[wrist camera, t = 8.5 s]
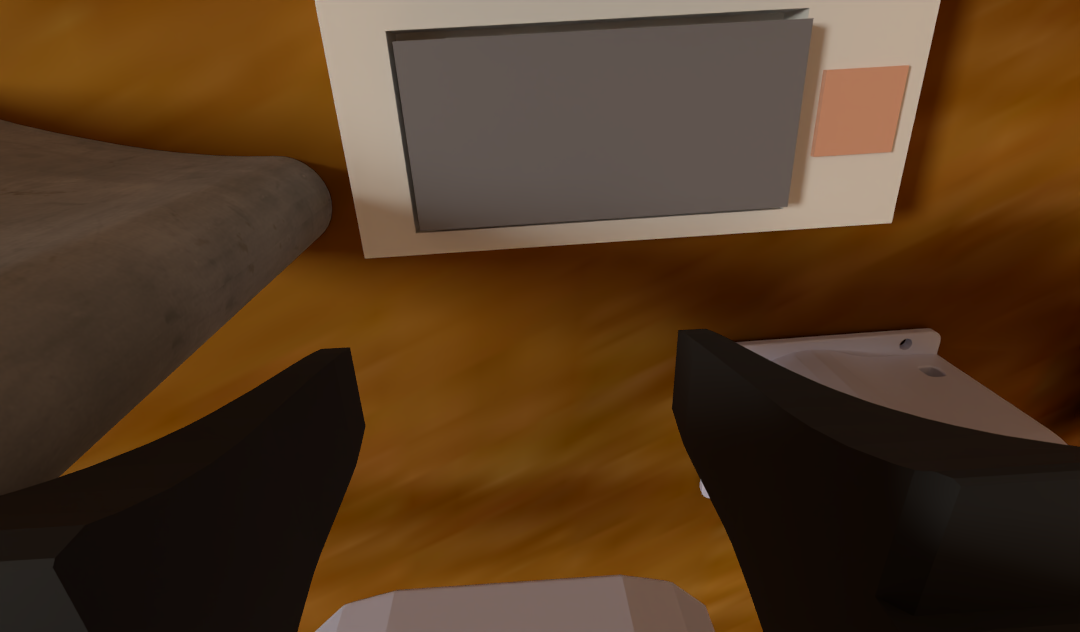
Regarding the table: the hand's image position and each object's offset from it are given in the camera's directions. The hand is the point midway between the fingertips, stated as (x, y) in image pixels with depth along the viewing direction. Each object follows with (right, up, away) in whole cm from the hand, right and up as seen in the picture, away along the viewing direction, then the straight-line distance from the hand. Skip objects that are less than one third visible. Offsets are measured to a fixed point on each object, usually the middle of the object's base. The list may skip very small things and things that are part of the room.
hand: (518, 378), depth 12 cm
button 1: (+2, +7, +5) cm, 9 cm away
